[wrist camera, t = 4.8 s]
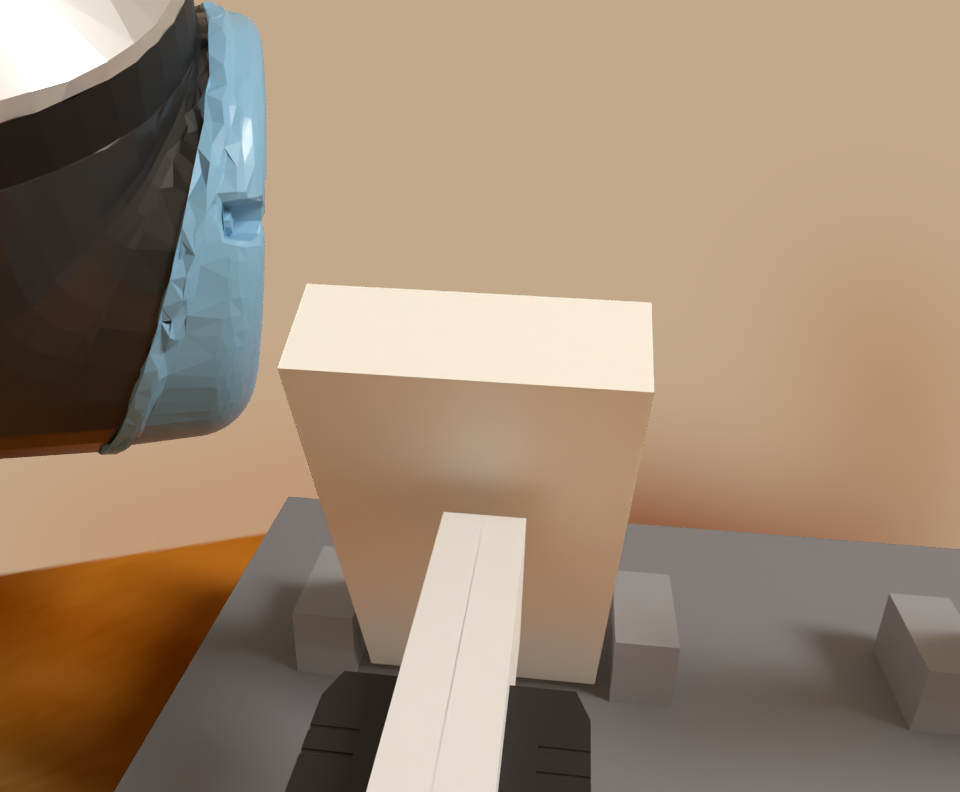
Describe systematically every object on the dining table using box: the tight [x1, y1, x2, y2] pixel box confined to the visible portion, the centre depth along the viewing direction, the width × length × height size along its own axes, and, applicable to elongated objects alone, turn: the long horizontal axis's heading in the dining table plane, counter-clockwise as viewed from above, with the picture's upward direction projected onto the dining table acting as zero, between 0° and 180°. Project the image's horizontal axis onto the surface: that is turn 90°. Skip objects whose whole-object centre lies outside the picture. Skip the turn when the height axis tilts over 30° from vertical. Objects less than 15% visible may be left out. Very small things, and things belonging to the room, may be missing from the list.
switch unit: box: [114, 497, 960, 792], centre depth 24 cm, size 14×32×8 cm, turn 84°
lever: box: [278, 284, 654, 684], centre depth 19 cm, size 2×6×12 cm, turn 84°
